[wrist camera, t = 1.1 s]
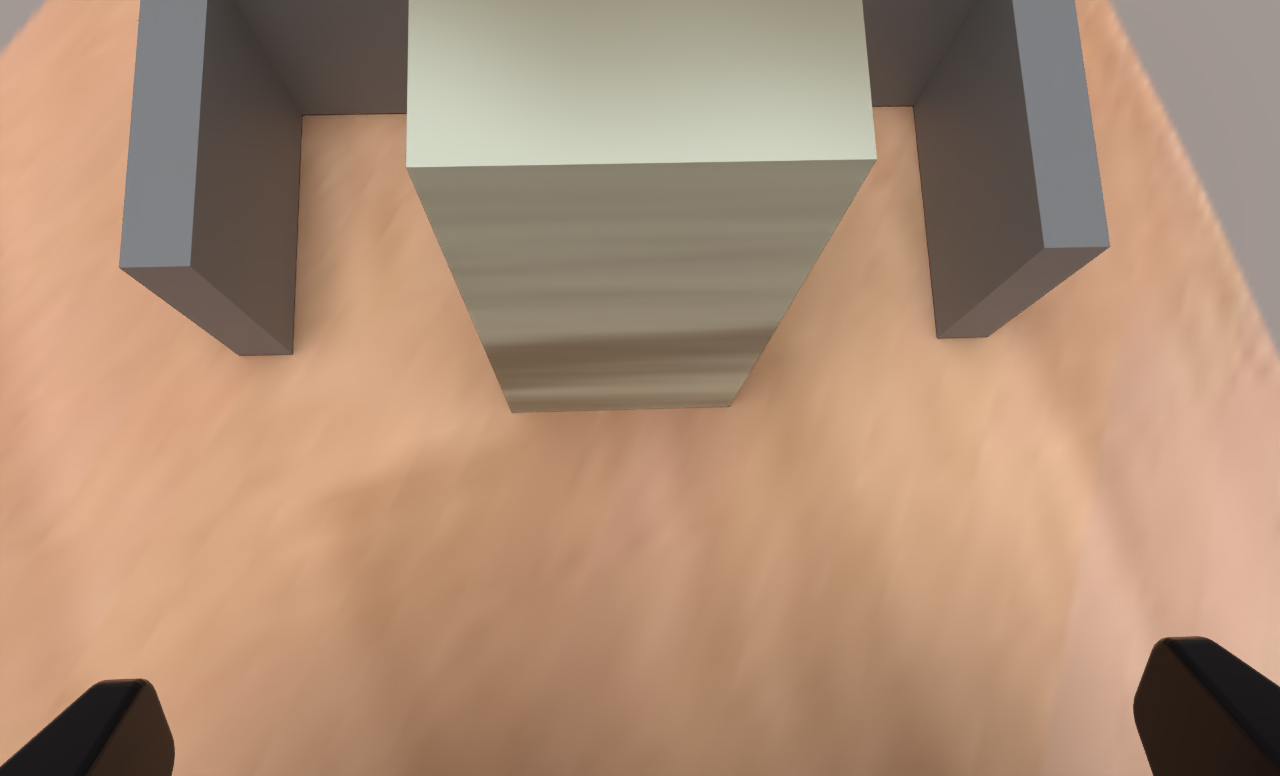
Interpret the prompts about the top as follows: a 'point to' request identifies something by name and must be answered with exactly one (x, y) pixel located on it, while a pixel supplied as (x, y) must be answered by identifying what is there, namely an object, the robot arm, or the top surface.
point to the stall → (377, 83)
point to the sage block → (634, 182)
